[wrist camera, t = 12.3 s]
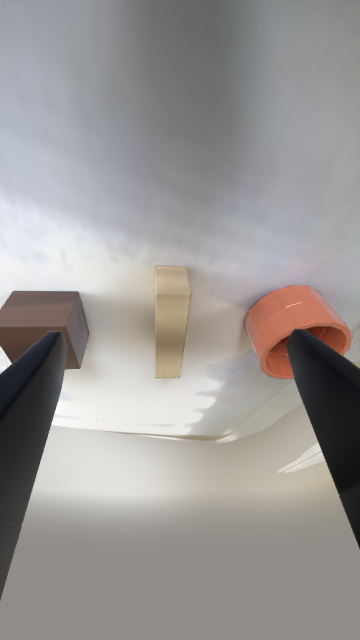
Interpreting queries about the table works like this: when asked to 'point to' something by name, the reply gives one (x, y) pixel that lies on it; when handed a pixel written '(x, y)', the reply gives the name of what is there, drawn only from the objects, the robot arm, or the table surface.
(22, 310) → the walnut block
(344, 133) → the table surface
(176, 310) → the birch bar
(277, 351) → the plant pot
